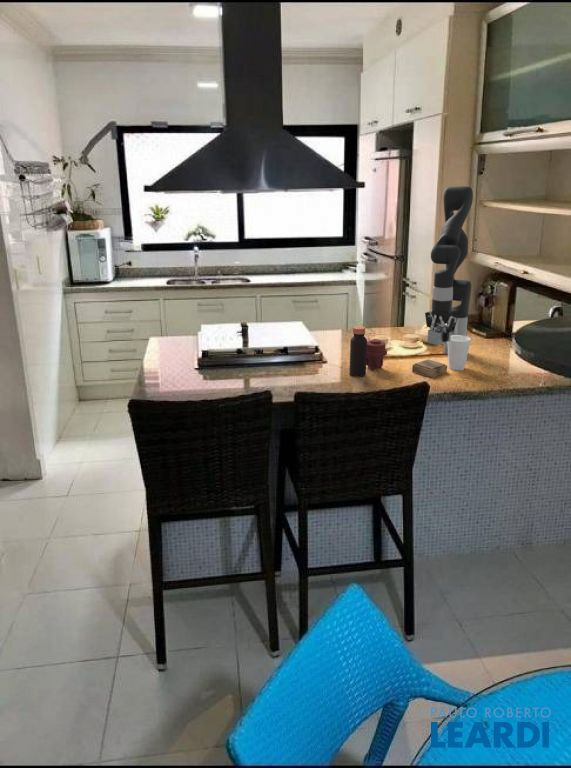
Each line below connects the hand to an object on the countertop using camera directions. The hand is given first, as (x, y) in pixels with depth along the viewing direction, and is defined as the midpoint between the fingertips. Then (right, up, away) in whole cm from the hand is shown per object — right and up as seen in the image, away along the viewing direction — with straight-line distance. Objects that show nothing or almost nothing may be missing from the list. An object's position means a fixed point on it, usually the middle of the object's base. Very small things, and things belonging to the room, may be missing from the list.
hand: (439, 339), depth 237 cm
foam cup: (+12, -11, +18) cm, 24 cm away
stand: (-1, -12, +13) cm, 18 cm away
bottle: (-31, -14, +11) cm, 36 cm away
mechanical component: (-23, -11, +19) cm, 31 cm away
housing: (0, -1, 0) cm, 1 cm away
